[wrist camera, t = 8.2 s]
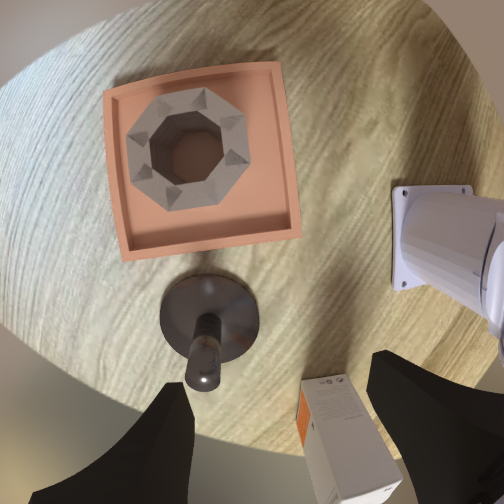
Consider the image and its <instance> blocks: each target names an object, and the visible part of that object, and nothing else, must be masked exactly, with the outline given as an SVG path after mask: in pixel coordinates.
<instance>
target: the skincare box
mask: <svg viewBox="0 0 504 504" xmlns="http://www.w3.org/2000/svg"><path fill="white" fill-rule="evenodd" d="M296 425H297V428H298V432H299V436H300V440H301V443H302V447H303V451H304V454H305V458H306V462H307V465H308V469H309V473H310V476H311V479H312V483H313V487H314V490H315V494H316V498H317V501H318V504H381V503H383V502H384V501H385V500H387V498H388V497H389V496H390V495H391V493H392V491H393V490H394V489H395V488H396V487H397V485H398V484H399V483H400V482H401V481H402V480H403V476H402V474H401V472H400V470H399V468H398V466H397V464H396V463H395V461H394V459H393V457H392V455H391V453H390V451H389V450H388V448H387V446H386V444H385V442H384V441H383V439H382V437H381V435H380V433H379V431H378V430H377V428H376V426H375V424H374V422H373V421H372V419H371V417H370V415H369V413H368V412H367V410H366V408H365V406H364V404H363V402H362V401H361V399H360V397H359V395H358V393H357V392H356V390H355V388H354V386H353V385H352V383H351V381H350V379H349V378H348V376H347V374H341V375H335V376H329V377H322V378H315V379H307V380H302V381H301V392H300V400H299V407H298V413H297V419H296Z"/></svg>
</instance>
